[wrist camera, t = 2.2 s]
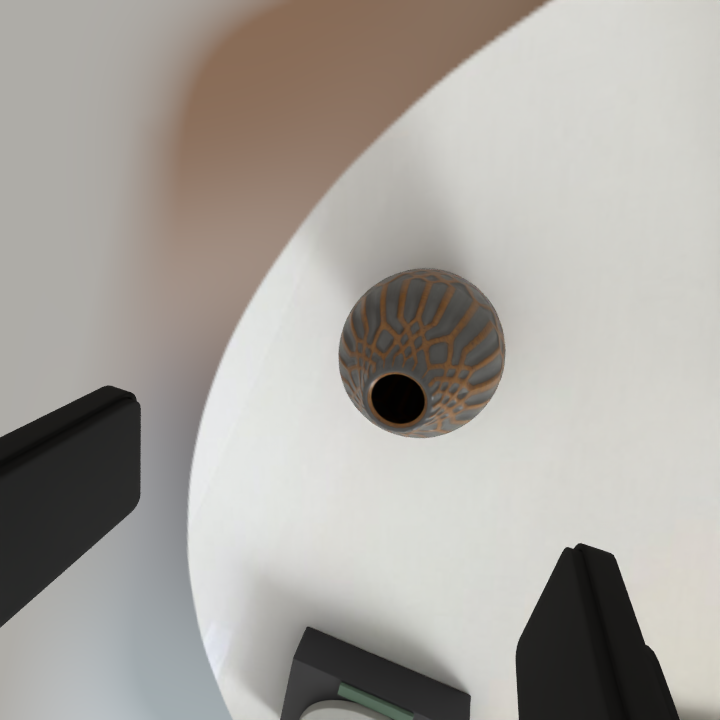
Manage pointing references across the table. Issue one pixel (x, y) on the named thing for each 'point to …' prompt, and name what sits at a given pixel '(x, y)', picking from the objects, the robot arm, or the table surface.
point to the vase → (422, 353)
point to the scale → (362, 686)
